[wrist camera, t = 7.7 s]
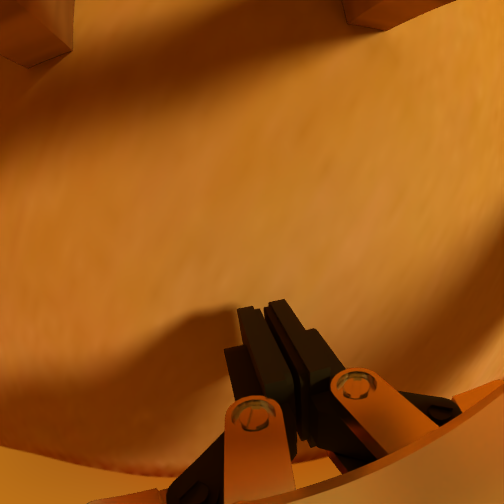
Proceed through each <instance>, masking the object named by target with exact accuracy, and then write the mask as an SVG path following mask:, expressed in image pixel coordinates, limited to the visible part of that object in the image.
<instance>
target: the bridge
mask: <svg viewBox="0 0 504 504" xmlns="http://www.w3.org/2000/svg"><path fill="white" fill-rule="evenodd" d="M74 1H75V0H0V55H1V56H3V57H5V58H7V59H10V60H12V61H14V62H16V63H18V64H20V65H22V66H24V67H26V68H30V67H32V66H34V65H37V64H39V63H41V62H44V61H46V60H49V59H51V58H54V57H56V56H59V55H61V54H64V53H67V52H70V51H72V47H73V16H74ZM453 1H456V0H342V4H343V7H344V11H345V15H346V20H347V24H351V25H358V26H364V27H370V28H375V29H380V30H385V31H387V30H389V29H391V28H393V27H395V26H398V25H400V24H402V23H404V22H406V21H408V20H410V19H412V18H415V17H417V16H419V15H421V14H424V13H426V12H428V11H431V10H433V9H435V8H438V7H440V6H443V5H445V4H448V3H451V2H453Z"/></svg>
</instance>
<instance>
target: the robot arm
mask: <svg viewBox="0 0 504 504" xmlns="http://www.w3.org/2000/svg"><path fill="white" fill-rule="evenodd" d="M268 306H269V307H264V317H265V319H264V317H263V314H262V312H261V310H260V309H255V310H254V307H253V306H249V307H244V308H239V309H237V312H238V318H239V324H240V330H241V335H242V341H243V345H241V346H236V347H231V348H226V349H224V353H225V357H226V362H227V366H228V371H229V375H230V380H231V384H232V388H233V393H234V397H235V401H236V402H234V403H233V404H232V405H230V407H229V408H228V410H227V411H226V415H225V431H224V432H223V433H222V434H221V435H220V436H219V437H218V439H217V440H216V441H215V442H214V443H213V444H212V445H211V446H210V447H209V448H208V449H207V450H206V451H205V452H204V453H203V454H202V455H201V456H200V457H199V458H198V459H197V460H196V461H195V462H194V463H193V464H192V465H191V466H189V467H188V468H187V469H186V470H185V471H184V472H183V473H182V474H181V475H180V476H179V477H178V478H177V479H176V480H175V481H174V482H173V483H172V484H171V485H170V486H169V488H168V489H164V490H160V491H158V490H157V489H156V488H155V489H151V490H146V491H142V492H137V493H133V494H128V495H123V496H117V497H112V498H106V499H99V500H94V501H91V502H89V503H87V504H504V380H500V379H499V380H494V381H492V382H489V383H487V384H484V385H482V386H479V387H477V388H474V389H472V390H469V391H466V392H463V393H461V394H458V395H455V396H453V397H452V399H451V400H449V399H446V398H442V397H434V396H427V395H420V394H414V393H407V392H401V391H396V390H395V389H394V388H393V387H392V386H391V385H389V384H388V383H387V382H386V381H385V380H384V379H382V378H381V377H380V376H379V375H378V374H376V373H375V372H373V371H372V370H368V369H365V368H349V369H345V367H344V366H343V365H342V363H341V362H340V361H339V359H338V358H337V357H336V355H335V354H334V352H333V351H332V350H331V348H330V347H329V346H328V344H327V343H326V342H325V340H324V339H323V338H322V336H321V335H320V334H319V332H318V331H317V330H316V329H314V328H313V329H309V330H305V328H304V327H303V325H302V324H301V322H300V321H299V320H298V318H297V317H296V315H295V314H294V312H293V311H292V309H291V308H290V306H289V305H288V303H287V302H286V300H285V299H282V300H277V301H273V302H269V305H268ZM297 433H298V435H299V437H300V439H301V441H304V440H307V441H308V443H309V446H310V448H312V447H315V446H317V447H318V448H322V449H325V450H327V454H328V456H329V458H330V459H331V460H332V462H333V463H334V464H335V466H336V467H337V468H338V470H339V471H340V472H341V473H342V475H339V476H337V477H334V478H331V479H328V480H326V481H323V482H320V483H316V484H313V485H310V486H307V487H304V488H300V489H297V490H296V488H295V482H294V477H293V471H292V465H291V461H292V460H293V459H294V457H295V456H296V454H297V444H296V443H297Z"/></svg>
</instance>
